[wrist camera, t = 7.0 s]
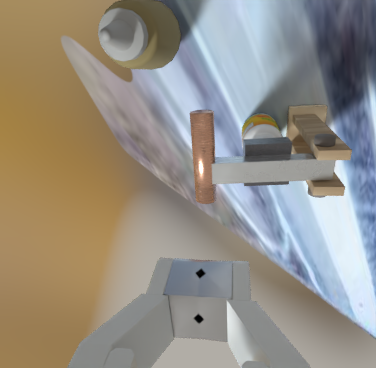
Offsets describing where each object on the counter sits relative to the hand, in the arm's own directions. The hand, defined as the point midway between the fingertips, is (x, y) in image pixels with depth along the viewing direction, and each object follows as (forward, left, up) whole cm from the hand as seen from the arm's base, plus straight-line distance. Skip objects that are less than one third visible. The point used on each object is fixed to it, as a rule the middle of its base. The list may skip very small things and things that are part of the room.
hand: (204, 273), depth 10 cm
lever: (+4, +3, -25) cm, 26 cm away
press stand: (+6, +10, -37) cm, 39 cm away
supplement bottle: (+6, +5, -37) cm, 38 cm away
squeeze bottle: (-8, -10, -37) cm, 39 cm away
